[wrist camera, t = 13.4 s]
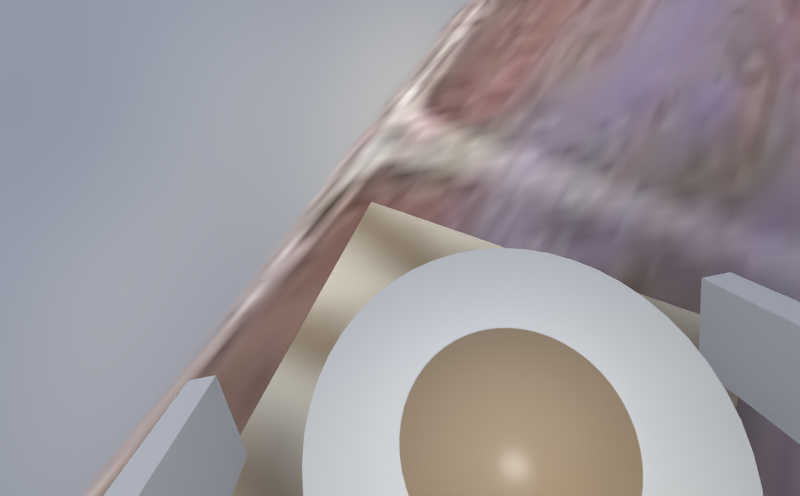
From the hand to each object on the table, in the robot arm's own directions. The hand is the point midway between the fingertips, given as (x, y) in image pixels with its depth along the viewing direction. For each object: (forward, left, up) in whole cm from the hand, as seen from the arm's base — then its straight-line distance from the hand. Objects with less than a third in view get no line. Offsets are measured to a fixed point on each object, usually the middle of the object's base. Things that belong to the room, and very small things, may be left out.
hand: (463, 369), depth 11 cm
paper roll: (+2, +1, -7) cm, 7 cm away
